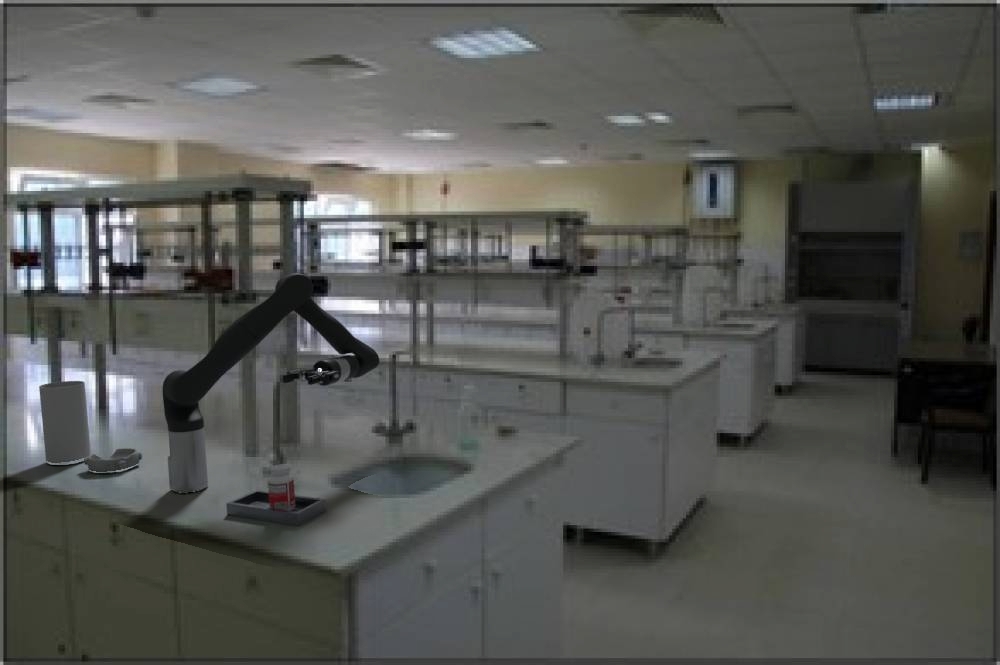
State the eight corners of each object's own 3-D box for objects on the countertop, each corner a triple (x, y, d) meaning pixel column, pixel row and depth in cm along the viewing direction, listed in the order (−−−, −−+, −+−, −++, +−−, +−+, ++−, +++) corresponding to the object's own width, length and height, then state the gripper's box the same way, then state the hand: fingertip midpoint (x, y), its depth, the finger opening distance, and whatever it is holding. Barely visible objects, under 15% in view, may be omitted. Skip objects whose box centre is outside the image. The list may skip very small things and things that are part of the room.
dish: (78, 473, 226) (76, 457, 225) (116, 461, 238) (115, 445, 238) (113, 478, 220) (112, 461, 220) (151, 465, 233) (149, 449, 233)
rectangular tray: (227, 514, 187) (226, 503, 186) (257, 500, 197) (256, 489, 196) (298, 526, 178) (297, 513, 178) (326, 510, 188) (325, 499, 188)
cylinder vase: (79, 453, 248) (73, 379, 245) (98, 459, 240) (92, 383, 238) (39, 463, 237) (31, 385, 235) (57, 469, 230) (50, 389, 227)
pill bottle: (287, 503, 191) (284, 461, 190) (300, 509, 187) (297, 466, 185) (265, 510, 186) (262, 467, 185) (278, 515, 182) (275, 472, 181)
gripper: (311, 357, 223) (274, 365, 208) (351, 359, 217) (316, 367, 202) (312, 382, 223) (276, 392, 209) (352, 384, 218) (318, 395, 203)
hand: (296, 380), depth 205 cm, fingers open, 8 cm apart
